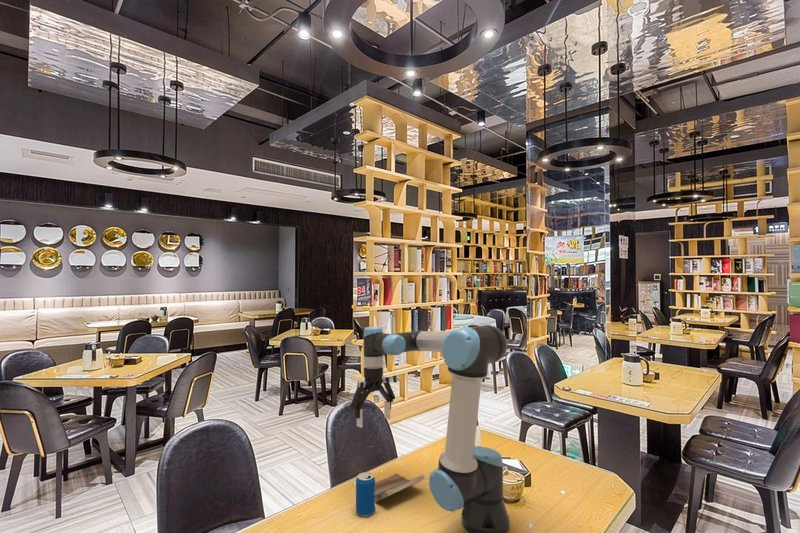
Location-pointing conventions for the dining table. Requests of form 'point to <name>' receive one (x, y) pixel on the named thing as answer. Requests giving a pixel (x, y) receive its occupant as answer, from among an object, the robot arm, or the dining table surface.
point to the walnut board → (388, 483)
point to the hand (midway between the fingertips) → (373, 422)
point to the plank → (399, 488)
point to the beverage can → (365, 494)
